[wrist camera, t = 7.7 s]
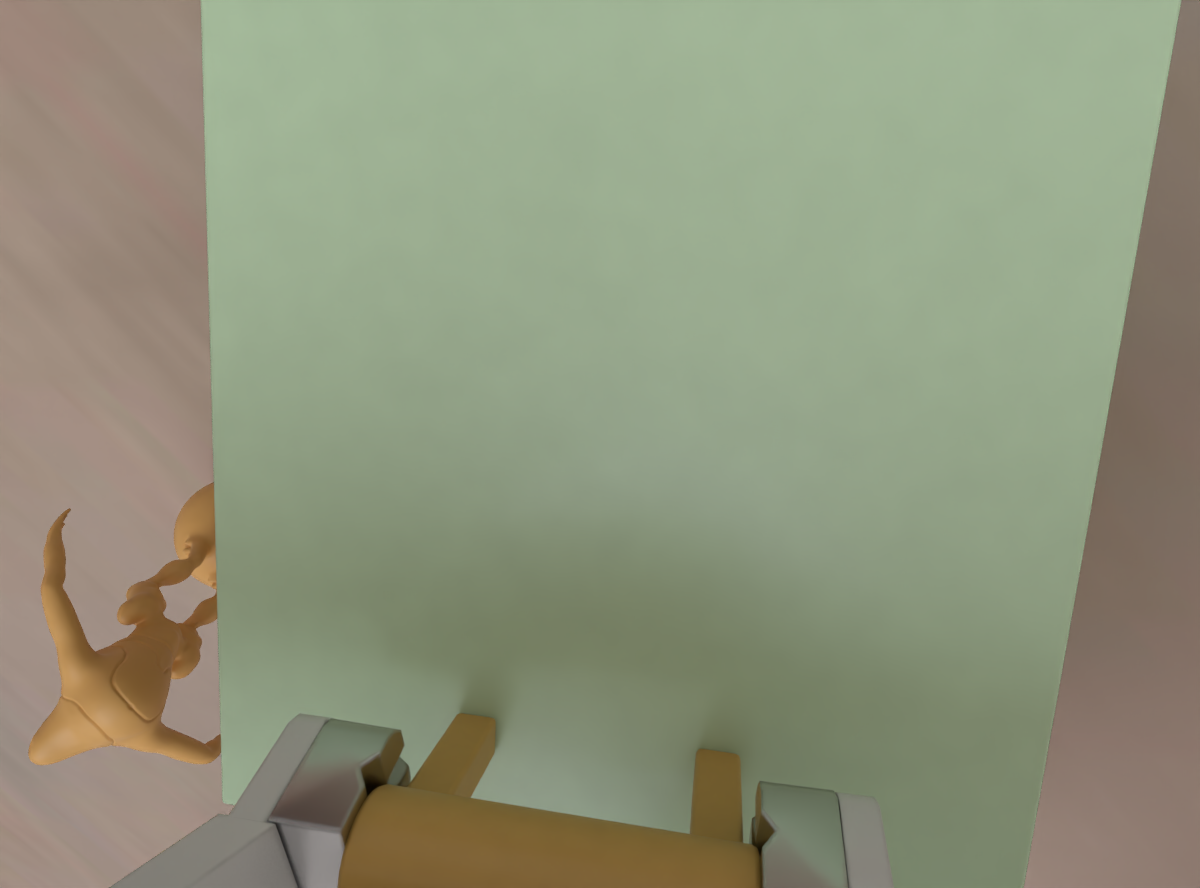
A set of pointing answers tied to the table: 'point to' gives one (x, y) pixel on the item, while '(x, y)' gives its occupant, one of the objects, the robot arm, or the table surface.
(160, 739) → the figurine
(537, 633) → the chest lid
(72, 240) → the table surface
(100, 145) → the table surface
